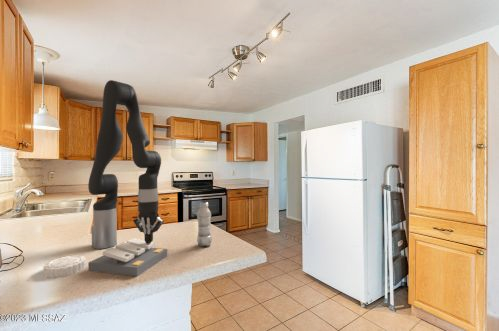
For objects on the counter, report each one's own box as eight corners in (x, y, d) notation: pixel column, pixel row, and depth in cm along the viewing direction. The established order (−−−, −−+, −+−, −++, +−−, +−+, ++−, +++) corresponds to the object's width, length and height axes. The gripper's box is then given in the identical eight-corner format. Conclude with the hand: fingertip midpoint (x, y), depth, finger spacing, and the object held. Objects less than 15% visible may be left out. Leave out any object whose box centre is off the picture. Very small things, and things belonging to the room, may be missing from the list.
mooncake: (79, 260, 94) (79, 251, 94) (90, 269, 87) (90, 259, 87) (40, 271, 85) (39, 261, 85) (47, 282, 77) (47, 271, 77)
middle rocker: (115, 248, 91) (115, 245, 90) (123, 245, 94) (123, 241, 94) (137, 255, 88) (138, 251, 88) (144, 251, 92) (145, 248, 92)
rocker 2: (126, 244, 96) (127, 240, 96) (133, 240, 100) (133, 237, 100) (148, 249, 94) (148, 245, 94) (154, 245, 98) (154, 242, 98)
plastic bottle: (208, 248, 107) (208, 203, 106) (194, 247, 108) (194, 203, 108) (213, 243, 113) (213, 201, 113) (200, 242, 114) (200, 201, 114)
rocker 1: (102, 254, 85) (102, 250, 85) (111, 250, 89) (111, 247, 89) (126, 262, 83) (126, 258, 82) (134, 257, 86) (134, 253, 86)
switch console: (88, 270, 85) (88, 258, 85) (125, 252, 102) (125, 241, 102) (137, 276, 80) (137, 263, 80) (167, 256, 98) (166, 245, 98)
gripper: (127, 200, 94) (128, 244, 94) (157, 201, 91) (157, 246, 91) (140, 198, 101) (140, 238, 102) (168, 198, 98) (168, 240, 99)
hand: (148, 242), depth 96 cm, fingers closed
